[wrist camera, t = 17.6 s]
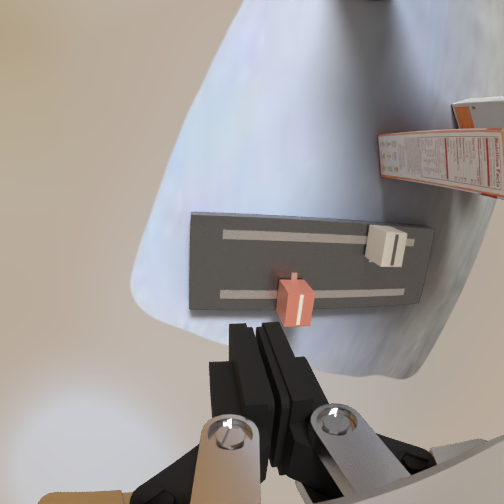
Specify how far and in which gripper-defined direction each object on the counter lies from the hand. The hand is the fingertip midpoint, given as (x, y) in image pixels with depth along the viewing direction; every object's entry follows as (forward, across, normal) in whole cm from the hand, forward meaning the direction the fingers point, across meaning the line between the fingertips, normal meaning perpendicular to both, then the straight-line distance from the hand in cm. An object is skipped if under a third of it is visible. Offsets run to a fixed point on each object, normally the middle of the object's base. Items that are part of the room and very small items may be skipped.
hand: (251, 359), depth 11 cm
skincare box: (+28, -36, -16) cm, 48 cm away
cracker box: (+28, -27, -9) cm, 39 cm away
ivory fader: (+25, -20, +3) cm, 32 cm away
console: (+27, -13, +6) cm, 31 cm away
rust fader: (+25, -9, +9) cm, 28 cm away
